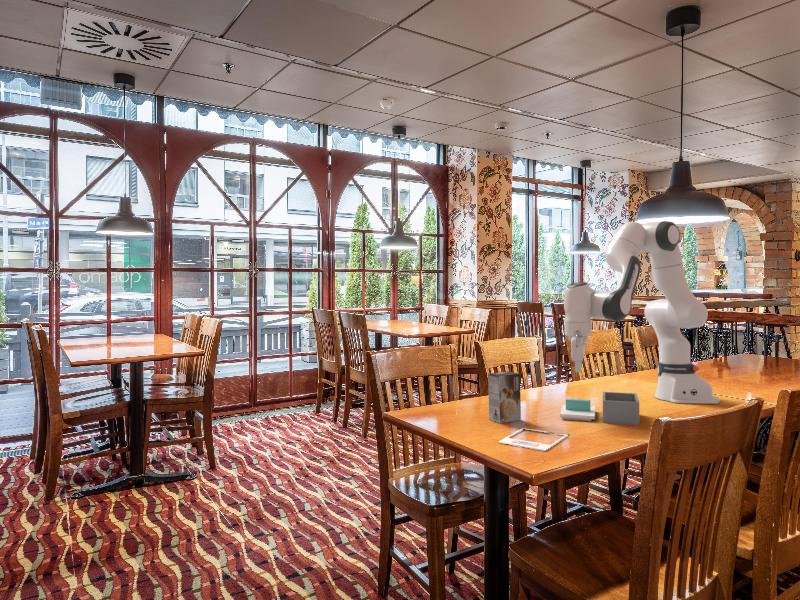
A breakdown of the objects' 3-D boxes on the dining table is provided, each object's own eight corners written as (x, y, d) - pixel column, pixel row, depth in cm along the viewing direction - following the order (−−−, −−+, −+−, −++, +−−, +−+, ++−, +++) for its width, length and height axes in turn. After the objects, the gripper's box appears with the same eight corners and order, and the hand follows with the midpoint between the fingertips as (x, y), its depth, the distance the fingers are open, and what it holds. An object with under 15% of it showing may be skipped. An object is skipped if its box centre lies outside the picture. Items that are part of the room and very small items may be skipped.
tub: (636, 416, 192) (636, 393, 192) (639, 427, 178) (639, 402, 177) (602, 414, 196) (602, 391, 195) (602, 425, 182) (602, 400, 181)
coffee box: (509, 416, 195) (509, 370, 194) (521, 420, 189) (521, 373, 189) (488, 419, 191) (487, 373, 190) (499, 423, 185) (499, 376, 184)
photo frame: (497, 441, 163) (523, 427, 178) (497, 444, 163) (523, 430, 178) (545, 449, 155) (568, 434, 169) (545, 453, 155) (568, 437, 169)
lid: (595, 412, 197) (595, 396, 196) (594, 422, 182) (594, 405, 182) (563, 410, 200) (562, 394, 200) (559, 420, 186) (559, 403, 186)
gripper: (586, 333, 179) (587, 375, 180) (588, 326, 199) (589, 365, 199) (566, 333, 181) (567, 375, 182) (569, 326, 201) (570, 364, 201)
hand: (578, 369), depth 191 cm, fingers open, 8 cm apart
